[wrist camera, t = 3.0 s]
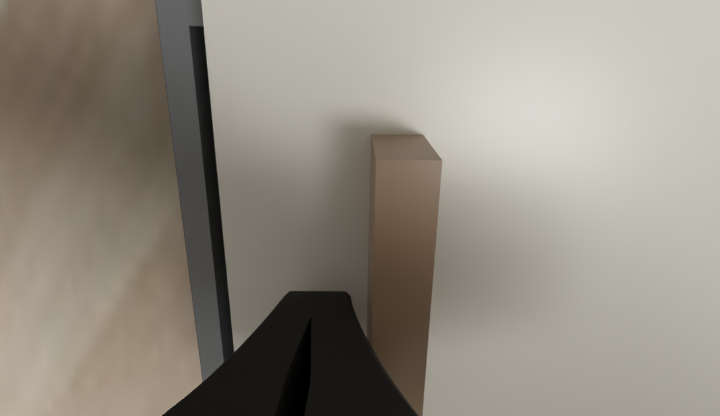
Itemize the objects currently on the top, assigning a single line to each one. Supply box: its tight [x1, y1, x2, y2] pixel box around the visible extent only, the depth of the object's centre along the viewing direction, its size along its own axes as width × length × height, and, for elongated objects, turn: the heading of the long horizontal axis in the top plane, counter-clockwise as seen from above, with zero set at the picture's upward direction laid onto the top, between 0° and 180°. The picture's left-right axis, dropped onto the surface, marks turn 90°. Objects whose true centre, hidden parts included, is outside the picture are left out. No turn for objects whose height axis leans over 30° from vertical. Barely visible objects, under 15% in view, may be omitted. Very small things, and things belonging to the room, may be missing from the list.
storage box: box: [155, 0, 234, 381], centre depth 14 cm, size 12×13×5 cm
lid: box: [201, 0, 720, 416], centre depth 10 cm, size 12×13×3 cm
